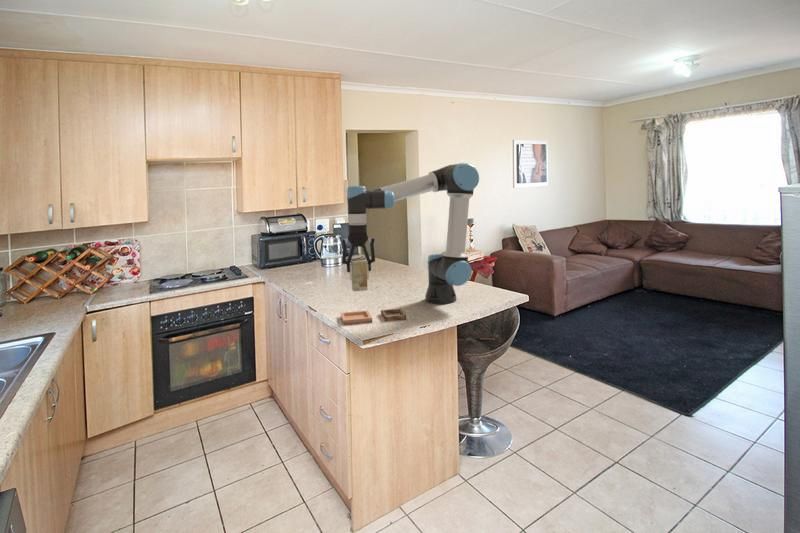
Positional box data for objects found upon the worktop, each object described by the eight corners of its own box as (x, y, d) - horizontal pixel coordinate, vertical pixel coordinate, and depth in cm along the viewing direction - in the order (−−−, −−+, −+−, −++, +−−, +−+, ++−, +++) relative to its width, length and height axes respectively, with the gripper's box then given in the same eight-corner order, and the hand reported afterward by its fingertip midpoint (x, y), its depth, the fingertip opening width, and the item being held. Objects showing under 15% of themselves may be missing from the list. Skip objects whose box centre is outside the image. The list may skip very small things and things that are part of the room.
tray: (368, 314, 192) (368, 310, 191) (372, 322, 180) (372, 317, 180) (341, 317, 189) (340, 312, 189) (343, 325, 178) (343, 320, 177)
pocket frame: (400, 312, 193) (400, 308, 193) (406, 319, 183) (406, 315, 182) (381, 314, 191) (380, 310, 191) (385, 321, 181) (385, 317, 180)
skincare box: (353, 291, 180) (351, 263, 177) (351, 289, 184) (350, 261, 182) (368, 290, 181) (367, 261, 179) (366, 287, 186) (365, 259, 183)
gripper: (378, 222, 184) (380, 276, 187) (333, 224, 179) (335, 278, 183) (382, 224, 176) (383, 279, 180) (334, 225, 172) (337, 282, 176)
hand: (359, 279), depth 182 cm, fingers closed on skincare box, 6 cm apart
